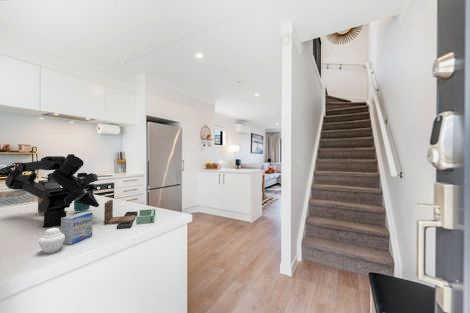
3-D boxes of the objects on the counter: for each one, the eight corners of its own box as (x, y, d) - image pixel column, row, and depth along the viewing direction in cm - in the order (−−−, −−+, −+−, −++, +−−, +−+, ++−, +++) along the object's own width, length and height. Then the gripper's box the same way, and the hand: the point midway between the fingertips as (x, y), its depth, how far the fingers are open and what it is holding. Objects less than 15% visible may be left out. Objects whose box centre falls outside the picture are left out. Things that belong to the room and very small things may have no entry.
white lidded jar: (56, 245, 66) (56, 223, 66) (69, 248, 64) (70, 225, 64) (32, 253, 60) (32, 230, 60) (46, 257, 58) (47, 232, 58)
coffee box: (36, 213, 100) (37, 180, 100) (53, 210, 105) (54, 179, 105) (43, 216, 95) (43, 181, 95) (60, 213, 101) (61, 180, 100)
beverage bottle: (83, 214, 99) (84, 173, 99) (69, 214, 99) (70, 173, 99) (92, 210, 106) (93, 172, 106) (80, 210, 106) (81, 172, 106)
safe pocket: (136, 224, 87) (136, 217, 87) (139, 216, 99) (139, 209, 99) (153, 222, 89) (153, 215, 89) (155, 215, 101) (155, 208, 101)
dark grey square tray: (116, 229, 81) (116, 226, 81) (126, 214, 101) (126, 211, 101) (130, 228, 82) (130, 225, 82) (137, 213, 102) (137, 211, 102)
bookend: (104, 224, 86) (104, 203, 86) (108, 219, 92) (109, 199, 92) (133, 222, 89) (133, 202, 89) (135, 217, 96) (135, 198, 96)
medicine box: (71, 245, 66) (71, 218, 66) (60, 243, 67) (60, 217, 67) (92, 235, 74) (93, 212, 74) (82, 234, 75) (82, 211, 75)
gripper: (74, 168, 77) (107, 196, 81) (92, 166, 95) (118, 189, 98) (48, 190, 75) (83, 218, 78) (71, 183, 92) (99, 206, 96)
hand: (98, 206), depth 88 cm, fingers closed
